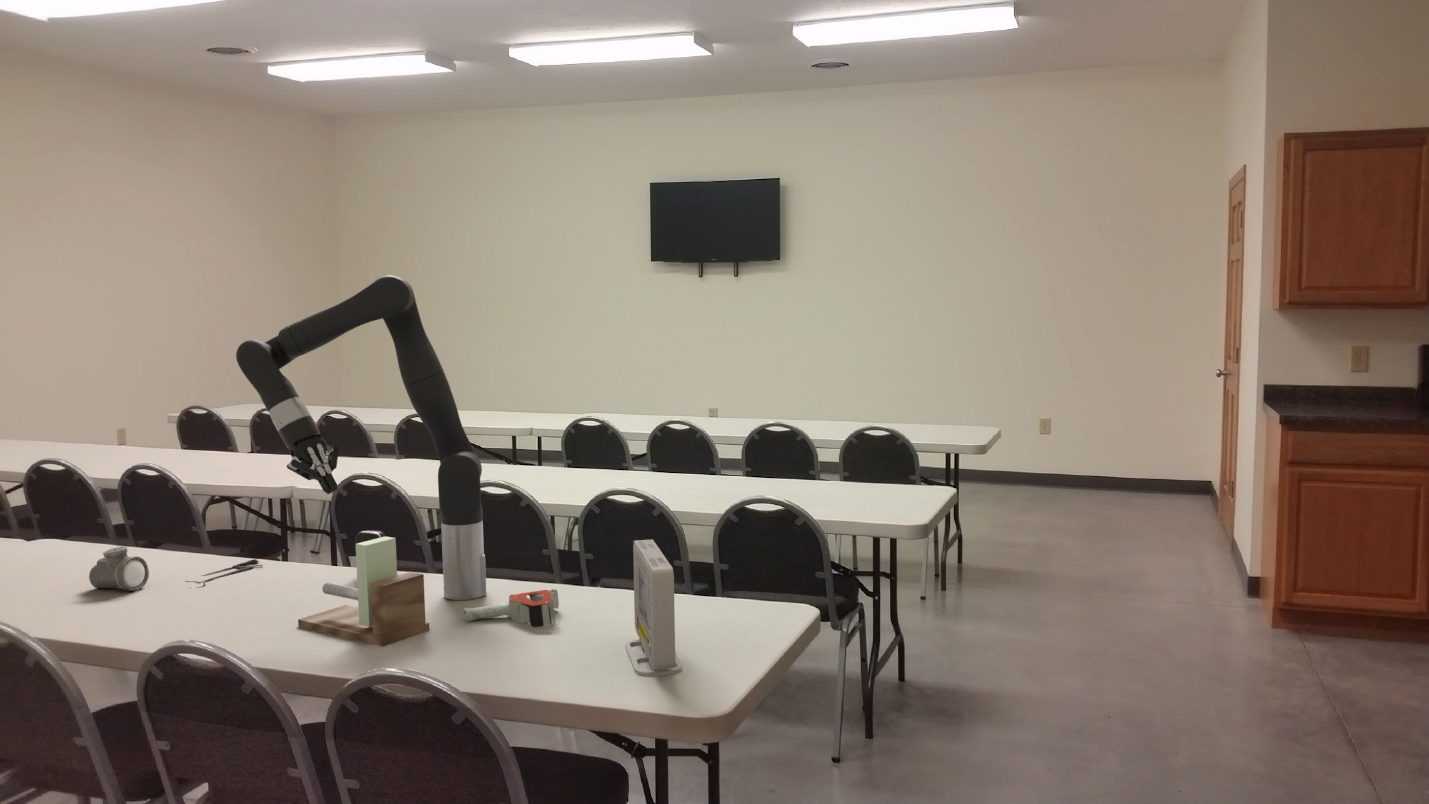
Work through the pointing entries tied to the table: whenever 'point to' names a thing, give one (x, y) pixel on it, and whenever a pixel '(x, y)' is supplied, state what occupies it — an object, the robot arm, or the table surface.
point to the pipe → (340, 590)
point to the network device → (653, 611)
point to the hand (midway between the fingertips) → (332, 491)
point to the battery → (368, 536)
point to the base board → (379, 613)
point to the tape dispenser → (522, 609)
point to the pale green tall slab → (373, 571)
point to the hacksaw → (241, 568)
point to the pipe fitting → (119, 571)
